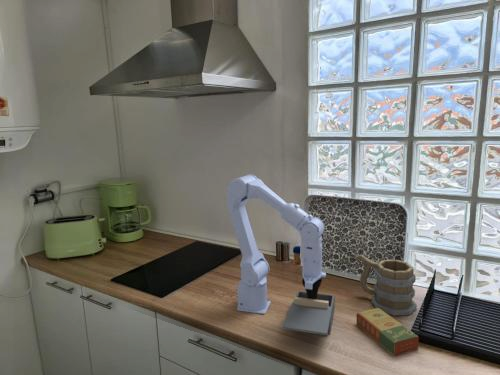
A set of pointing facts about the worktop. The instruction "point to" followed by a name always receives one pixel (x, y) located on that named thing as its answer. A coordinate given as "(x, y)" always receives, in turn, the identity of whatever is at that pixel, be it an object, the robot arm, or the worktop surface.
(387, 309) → the tankard
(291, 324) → the lid
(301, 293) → the box
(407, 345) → the carton
